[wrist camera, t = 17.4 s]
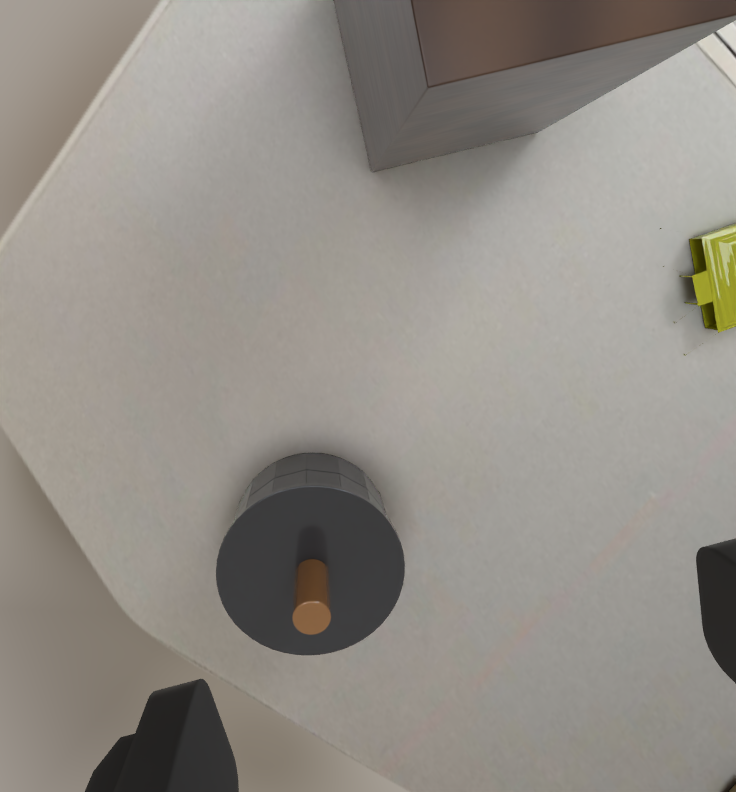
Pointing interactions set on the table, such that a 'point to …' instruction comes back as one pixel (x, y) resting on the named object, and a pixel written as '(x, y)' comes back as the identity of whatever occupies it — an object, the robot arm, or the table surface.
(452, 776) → the table surface
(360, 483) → the pot
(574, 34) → the brown rectangular block
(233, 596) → the lid
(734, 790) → the toy sandwich meal
